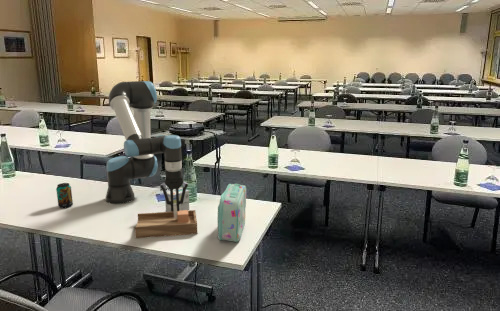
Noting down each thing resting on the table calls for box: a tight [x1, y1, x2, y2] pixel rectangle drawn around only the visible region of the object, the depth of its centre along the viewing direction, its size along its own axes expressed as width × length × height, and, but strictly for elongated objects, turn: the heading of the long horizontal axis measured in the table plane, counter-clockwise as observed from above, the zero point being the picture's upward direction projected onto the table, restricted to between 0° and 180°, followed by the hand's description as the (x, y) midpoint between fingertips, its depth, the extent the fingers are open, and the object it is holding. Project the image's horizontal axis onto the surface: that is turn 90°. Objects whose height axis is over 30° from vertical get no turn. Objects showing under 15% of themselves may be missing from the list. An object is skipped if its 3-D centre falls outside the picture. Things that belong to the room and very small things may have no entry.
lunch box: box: [217, 183, 247, 243], centre depth 179 cm, size 27×10×21 cm, turn 174°
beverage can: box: [55, 182, 74, 209], centre depth 209 cm, size 7×7×12 cm
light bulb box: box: [164, 187, 190, 212], centre depth 204 cm, size 11×7×11 cm, turn 134°
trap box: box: [134, 209, 198, 239], centre depth 184 cm, size 16×27×5 cm, turn 101°
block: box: [177, 210, 189, 223], centre depth 187 cm, size 5×5×4 cm
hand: (175, 217), depth 188 cm, fingers closed
